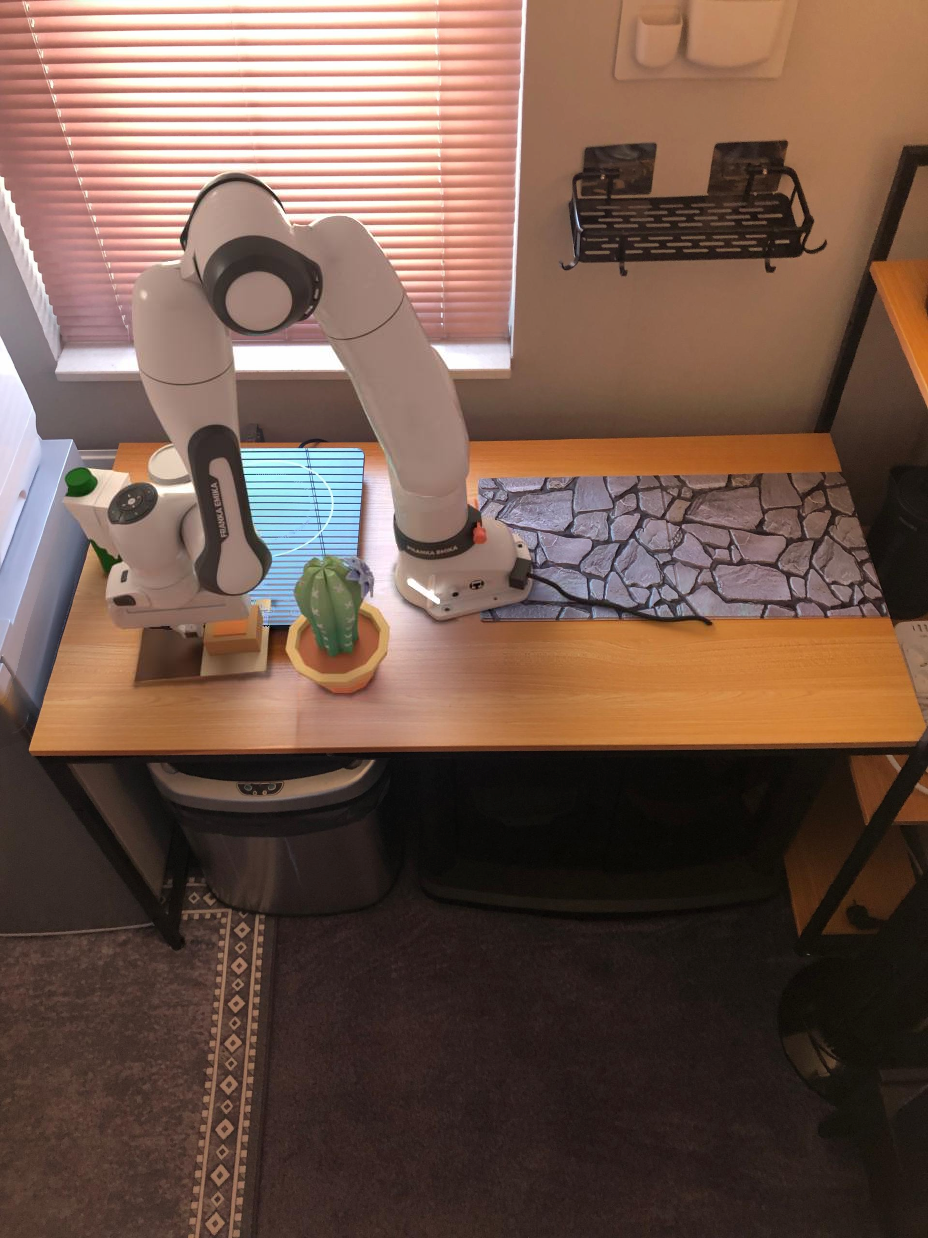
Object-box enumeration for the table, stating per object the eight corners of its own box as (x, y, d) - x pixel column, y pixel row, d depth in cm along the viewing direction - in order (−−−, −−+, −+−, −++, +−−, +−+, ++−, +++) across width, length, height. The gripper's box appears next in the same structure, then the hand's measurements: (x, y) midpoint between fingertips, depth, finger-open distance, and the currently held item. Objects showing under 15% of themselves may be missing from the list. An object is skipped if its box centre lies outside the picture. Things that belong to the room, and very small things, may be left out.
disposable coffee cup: (216, 530, 163) (197, 480, 153) (162, 531, 163) (139, 481, 154) (225, 490, 169) (207, 439, 159) (172, 491, 169) (151, 441, 159)
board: (272, 602, 153) (271, 598, 152) (267, 675, 144) (265, 670, 144) (149, 612, 153) (146, 608, 152) (137, 685, 144) (134, 681, 144)
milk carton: (120, 540, 163) (76, 454, 147) (169, 546, 161) (130, 460, 145) (98, 579, 158) (50, 495, 142) (148, 586, 156) (106, 501, 140)
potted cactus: (376, 722, 139) (352, 621, 119) (279, 699, 142) (240, 596, 122) (409, 639, 147) (392, 531, 127) (318, 618, 150) (287, 510, 130)
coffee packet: (263, 617, 150) (258, 604, 147) (260, 651, 146) (255, 638, 143) (213, 621, 150) (207, 608, 147) (208, 655, 146) (202, 642, 143)
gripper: (241, 555, 137) (262, 612, 148) (101, 566, 137) (132, 623, 148) (238, 589, 134) (259, 645, 145) (93, 601, 134) (126, 656, 145)
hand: (194, 634), depth 147 cm, fingers closed
